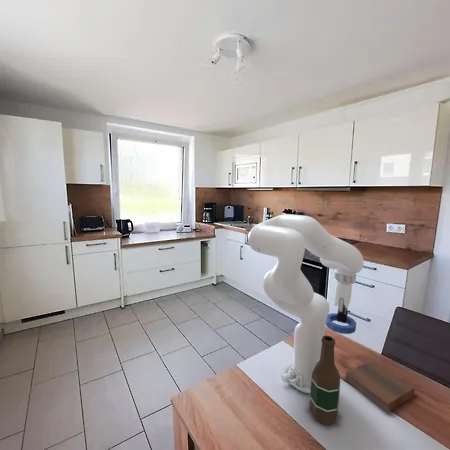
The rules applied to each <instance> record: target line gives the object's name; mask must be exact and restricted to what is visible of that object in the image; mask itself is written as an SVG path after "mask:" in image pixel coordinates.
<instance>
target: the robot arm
mask: <svg viewBox="0 0 450 450" xmlns="http://www.w3.org/2000/svg"><path fill="white" fill-rule="evenodd" d="M247 242H248V246H249V247H250V249H252V250H253V251H254V252H256V253H259V254H263V255H267V256H270V257H274V258H277V262H276V264H275V265H274V266H273V268H272V269H270V270H268V271H267V273H266V274H265V276H264V278H263V282H262V285H263V286H262V287H263V290H264V292H265V294H266V296H267V297H268V298H269V299H270V300H271V301H272V302H273V303H274V304H275V305H276V306H277V307H278V308H279V309H280V310H282V311H284V312H286V313H288V314H290V315H292V316H295V317H296V318H299V319H300V322H298V324H297V325H295V327H294V331H293V353H292V365H291V366H290V367H289V368H288V370H287V373H283V374H281V375H280V377H281V380H282V382H283V383H284V382H287V381H289V383H290V385H292V386H293V387H294V388H295V389H296V390H298V391H300V392H301V393H305V394H309V395H311V378H312V372H313V370H314V367H315V365H316V363H317V362H318V361H319V360H320V355H321V348H322V341H321V340H322V337H323V336H325V333H326V331H325V330H326V321H327V317H328V314H330V313H329V312H330V303H329V301H328V300H327V298H326V297H324V296H323V295H321V294H319V293H317V292H315V291H314V288H313V285H312V284H311V283H310V281H309V279H308V278H307V277H306V276H305V274H304V273H303V271H302V270H301V267H302V263H303V259H304V256H305V251H306V250H307V251H308V252H309V253H310V254H312V255H313V256H315V257H318V258H319V262H320V263H321V265H323V266H324V267H326V268H330V269H334V277H333V278H334V281H335V282H336V283H335V289H334V290H335V291H334V299H333V306H334V307H337V313H338V314H337V321H336V322H338V323H342V324H347V323H346V316H348V315H349V314H348V313H349V312H348V309H349V308H348V307H349V306H350V302H351V300H352V299H351V298H352V291H353V285H355V284H356V282H357V274H359V273H360V272H361V271H362V270H363V268H364V263H365V261H364V260H365V259H364V257H363V254H362V253H361V251H360V250H359V249H358V248H357V247H356V246H354V245H353V244H351V243H349V242H346V241H344V240H342V239H341V238H339V237H336V236H334V235H332V234H330V233H329V232H328V231H327V230H326V229H325V228H324V226H323V225H322V224H320V222H319V221H318V220H316V219H315V218H314V217H312V216H309V215H302V214H291V213H284V214H279V215H277V216H274V217H272V218H271V217H270V218H269V219H267V220H264V221H261V222H259V223H257V224H255V225H254V226H252V228H251V229H250V230H249V233H248V236H247Z"/></svg>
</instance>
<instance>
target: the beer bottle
mask: <svg viewBox="0 0 450 450" xmlns="http://www.w3.org/2000/svg"><path fill="white" fill-rule="evenodd" d="M321 341H322V348H321V355H320V360H319V361H318V362H317V363H316V365H315V367H314V370H313V372H312V378H311V394H310V399H309V411H310V413H311V416H313V418H314V419H315V421H317V422H319V423H321V424H323V425H325V426H329V425H335V424H336V422H337V418H338V413H339V404H340V391H341V389H340V388H341V375H340V372H339V369H338V368H337V366H336V364H335V346H336V339H335V338H334V337H333V336H331V335H324V336H323V337H322V340H321Z"/></svg>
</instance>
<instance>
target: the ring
mask: <svg viewBox="0 0 450 450" xmlns="http://www.w3.org/2000/svg"><path fill="white" fill-rule="evenodd" d="M337 314H338V312H336V313H335V312H334V313H333V312H331V313H328V317H327V321H326V325H325V327H327V329H329V330H331V331H332V332H334V333H338V334H342V335H351V334H354V333H356V330H357V322H356V320H355V319H354V318H352V317H350V316H348V315H347V316H346V323H345V324H347V325H343V324H338V323H335V322H338V321H337ZM334 321H335V322H334Z"/></svg>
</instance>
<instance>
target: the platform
mask: <svg viewBox="0 0 450 450" xmlns="http://www.w3.org/2000/svg"><path fill="white" fill-rule="evenodd" d="M345 381H346V382H347V383H348V384H349V385H351V386H352V387H353V388H355V389H356V390H357V391H359V392H360V393H361V394H362V395H364V396H365V397H366V398H367V399H368V400H369V401H371V402H372V403H373V404H375V405H376V406H377V407H379V409H381V410H382V411H384V412H385V413H386V414H388V413H390V412H391V411H392V410H395V409H396V408H397V407H399V406H401V405H402V404H404V403H405V402H407V401H408V400H411V399H412V398H413V397H414V396H415V392H416V391H415V390H416V387H414V386H413V385H412V384H411V383H408V382H407V381H405V380H404V379H403V378H401V377H399V376H398V375H396V374H395V373H393V372H391V371H390V370H388V369H387V368H385V367H384V366H382V365H380V364H379V363H378V362H376V361H374V360H372V359H371V360H370V361H366V363H365V362H364V363H362V364H361V365H359V366H357V367H354V368H353V369H350V370H348V371H346V372H345Z"/></svg>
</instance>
